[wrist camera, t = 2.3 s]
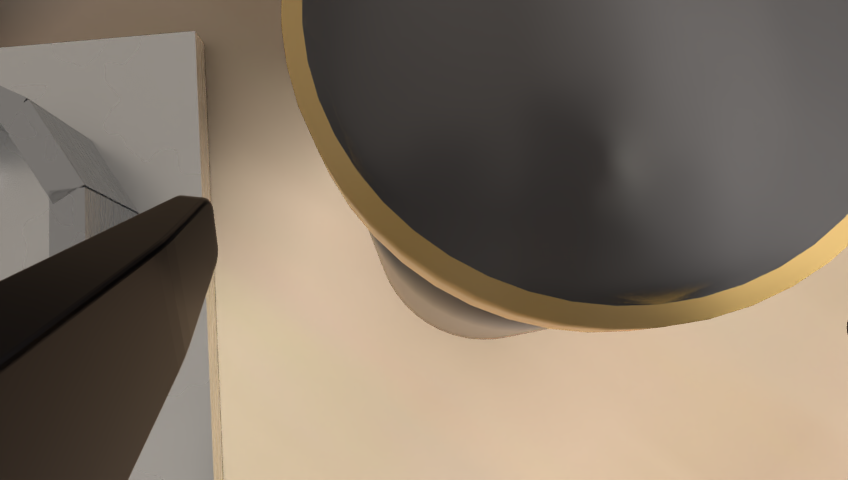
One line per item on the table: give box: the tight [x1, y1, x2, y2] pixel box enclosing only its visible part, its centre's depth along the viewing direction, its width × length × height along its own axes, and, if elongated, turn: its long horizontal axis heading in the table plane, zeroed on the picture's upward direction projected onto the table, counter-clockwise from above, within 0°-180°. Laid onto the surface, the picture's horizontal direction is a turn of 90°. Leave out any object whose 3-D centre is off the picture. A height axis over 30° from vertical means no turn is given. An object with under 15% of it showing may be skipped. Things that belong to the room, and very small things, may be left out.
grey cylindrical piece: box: [281, 0, 848, 339], centre depth 13 cm, size 6×6×12 cm
